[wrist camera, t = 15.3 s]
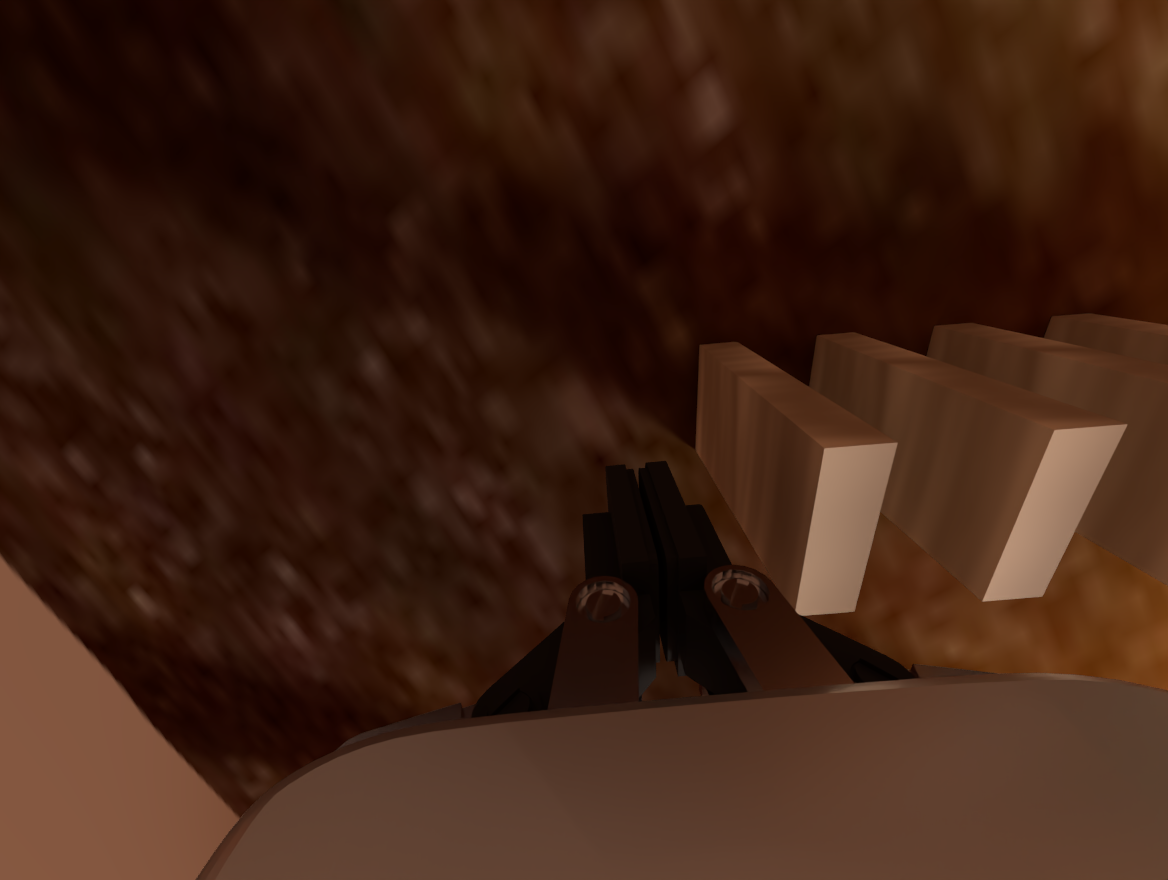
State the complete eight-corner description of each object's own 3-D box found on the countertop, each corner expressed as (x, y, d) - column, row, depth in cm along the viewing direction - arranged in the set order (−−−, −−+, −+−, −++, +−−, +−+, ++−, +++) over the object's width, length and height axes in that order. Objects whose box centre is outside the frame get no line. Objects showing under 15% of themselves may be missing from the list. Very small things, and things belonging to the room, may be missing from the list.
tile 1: (695, 449, 21) (794, 616, 12) (699, 344, 19) (824, 448, 10) (729, 447, 21) (854, 611, 12) (737, 341, 19) (898, 442, 10)
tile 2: (800, 441, 21) (982, 601, 12) (816, 335, 19) (1053, 429, 10) (834, 438, 21) (1042, 596, 12) (854, 332, 19) (1127, 424, 10)
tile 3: (905, 432, 21) (1168, 586, 12) (934, 325, 19) (1282, 411, 10) (939, 430, 21) (1229, 581, 12) (971, 322, 19) (1356, 405, 10)
